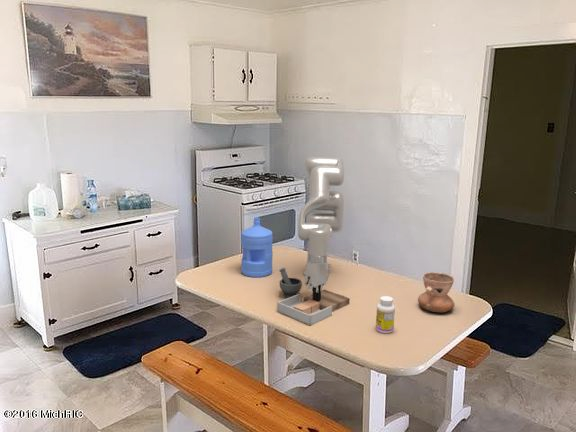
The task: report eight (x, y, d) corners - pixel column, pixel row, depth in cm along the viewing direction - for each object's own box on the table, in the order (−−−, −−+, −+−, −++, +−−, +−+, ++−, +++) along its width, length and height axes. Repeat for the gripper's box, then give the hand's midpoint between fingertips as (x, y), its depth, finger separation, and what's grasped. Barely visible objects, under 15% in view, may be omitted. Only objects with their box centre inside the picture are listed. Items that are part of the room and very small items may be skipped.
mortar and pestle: (305, 296, 215) (306, 270, 213) (291, 302, 209) (292, 275, 206) (286, 289, 223) (287, 264, 220) (272, 295, 216) (272, 269, 213)
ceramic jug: (441, 319, 194) (445, 286, 191) (409, 308, 204) (412, 276, 201) (461, 307, 207) (465, 276, 204) (430, 297, 217) (433, 267, 213)
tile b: (301, 309, 200) (301, 302, 200) (310, 313, 197) (311, 306, 196) (293, 313, 197) (293, 306, 196) (303, 317, 193) (303, 310, 193)
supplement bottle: (373, 326, 188) (375, 294, 185) (390, 325, 188) (392, 294, 185) (378, 334, 181) (380, 302, 178) (395, 333, 182) (398, 301, 179)
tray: (298, 302, 209) (299, 293, 208) (331, 315, 197) (332, 306, 196) (277, 311, 199) (277, 302, 198) (310, 325, 187) (310, 316, 186)
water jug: (254, 265, 255) (254, 212, 248) (278, 271, 246) (279, 217, 239) (234, 273, 243) (234, 218, 236) (259, 280, 234) (259, 223, 227)
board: (324, 294, 217) (324, 289, 217) (349, 303, 208) (349, 298, 207) (303, 303, 208) (303, 298, 207) (328, 313, 198) (328, 307, 198)
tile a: (309, 306, 204) (309, 299, 203) (319, 309, 201) (319, 302, 200) (302, 309, 200) (302, 303, 199) (311, 313, 197) (312, 306, 196)
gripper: (322, 252, 206) (321, 292, 210) (298, 259, 195) (297, 302, 200) (336, 256, 201) (334, 297, 205) (312, 264, 190) (311, 308, 195)
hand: (316, 300), depth 202 cm, fingers closed
